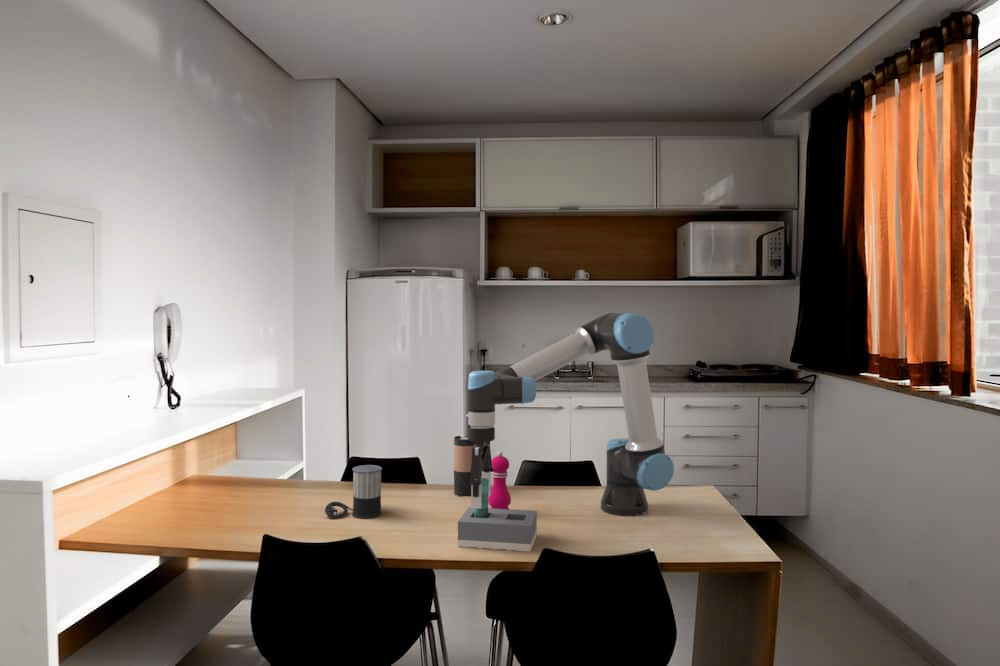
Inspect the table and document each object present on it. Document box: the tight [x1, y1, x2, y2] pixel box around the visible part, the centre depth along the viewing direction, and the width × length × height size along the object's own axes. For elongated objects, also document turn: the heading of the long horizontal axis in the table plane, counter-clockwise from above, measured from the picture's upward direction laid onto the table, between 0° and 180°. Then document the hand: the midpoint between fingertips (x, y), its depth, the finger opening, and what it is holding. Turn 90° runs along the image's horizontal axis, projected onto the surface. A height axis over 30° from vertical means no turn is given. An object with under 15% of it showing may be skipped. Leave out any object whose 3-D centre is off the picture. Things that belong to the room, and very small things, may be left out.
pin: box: [474, 478, 489, 518], centre depth 197 cm, size 4×4×15 cm
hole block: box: [457, 506, 538, 553], centre depth 196 cm, size 20×14×7 cm
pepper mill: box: [488, 450, 512, 509], centre depth 221 cm, size 7×7×20 cm
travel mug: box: [453, 435, 475, 497], centre depth 244 cm, size 8×8×20 cm
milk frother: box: [324, 464, 383, 519], centre depth 219 cm, size 14×16×15 cm
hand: (481, 501), depth 196 cm, fingers open, 13 cm apart
